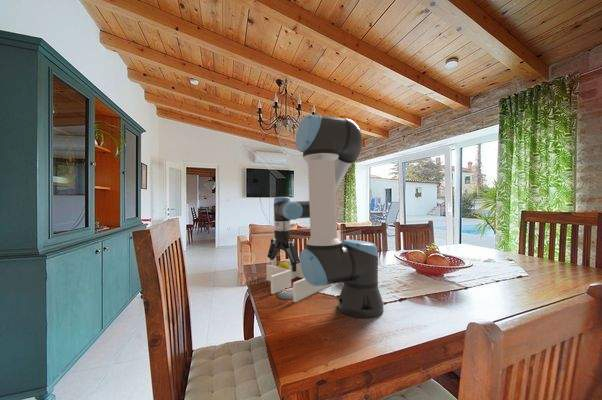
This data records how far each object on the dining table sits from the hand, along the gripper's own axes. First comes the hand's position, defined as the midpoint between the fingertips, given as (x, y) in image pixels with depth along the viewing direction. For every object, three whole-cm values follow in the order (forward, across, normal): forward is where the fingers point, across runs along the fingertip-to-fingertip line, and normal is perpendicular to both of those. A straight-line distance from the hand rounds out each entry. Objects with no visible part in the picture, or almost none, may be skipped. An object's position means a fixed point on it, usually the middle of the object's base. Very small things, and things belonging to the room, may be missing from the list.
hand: (283, 275), depth 120 cm
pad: (+1, +16, -13) cm, 21 cm away
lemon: (+1, 0, 0) cm, 1 cm away
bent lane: (+1, +9, -5) cm, 11 cm away
